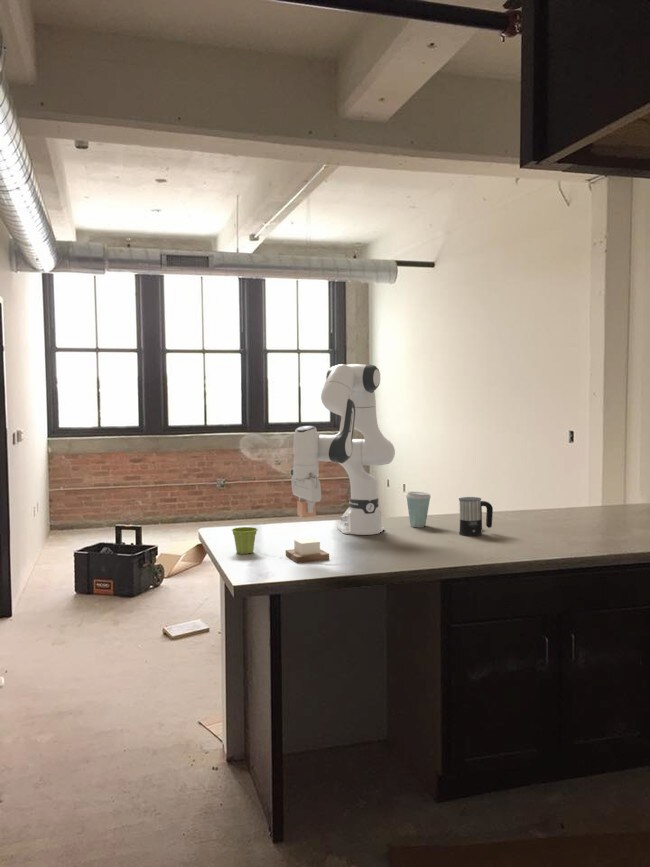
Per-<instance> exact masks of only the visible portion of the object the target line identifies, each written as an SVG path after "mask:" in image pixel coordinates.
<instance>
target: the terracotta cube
mask: <svg viewBox="0 0 650 867" xmlns="http://www.w3.org/2000/svg"><path fill="white" fill-rule="evenodd" d="M296 502H297V503H296V504H297V505H296V507H297V516H298V517H301V518H310V517H311V518H313V517H316V516H317V515H316V514H317V510H316V509H317V508H316V503H317V502H314V506H313V512H312V513H308V512H307V507H308V503H307V500H305V501H299V500H297V501H296Z"/></svg>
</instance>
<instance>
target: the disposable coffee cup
mask: <svg viewBox="0 0 650 867" xmlns="http://www.w3.org/2000/svg"><path fill="white" fill-rule="evenodd" d="M405 496H406V497H405V498H406V502H407V503H406V504H407V509H408V510H407V511H408V518H409V523H410V526H411V527H412V528H424V526H425V527H426V524H427V519H428V518H427V517H428V514H429V513H428V512H429V507H430V506H429V505H430V501H431V498H432V497H431V494H430V493H427V492H424V491H407V493H406V495H405Z"/></svg>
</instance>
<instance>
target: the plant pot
mask: <svg viewBox="0 0 650 867" xmlns="http://www.w3.org/2000/svg"><path fill="white" fill-rule="evenodd" d="M231 531H232V535H233V538H234V544H235V551H236V553H237V554H240V555H249V554H253V553H254V548H255V541H256V535H257V531H259V530H258V528H257V527H250V526H242V527H241V526H240V527H234V528H232V529H231Z"/></svg>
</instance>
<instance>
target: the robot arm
mask: <svg viewBox="0 0 650 867" xmlns="http://www.w3.org/2000/svg"><path fill="white" fill-rule="evenodd" d="M325 379H326V380H325V382H324V385H323V388H322V390H321V394H320V399H321V402H322V404H323V406H324V408H326V409H327V410H328V411H329V412H331V413H333V414H334V415H338V416H340V425H339V430H338V432H337V433H336V434H321V433H319V432H318V430H317V427H316V426H314V425H304V426H298V427H297V428H296V429H295V431H294V435H293V451H292V452H293V455H294V456H293V457H294V460H293V467H292V468H291V469H289V475H290V476H291V481H290V482H291V492H292V495H293V496H296V497H298V501H307V503H308V507H307V512H308V513H312V512H313V506H314V502H316V503H317V502H318V503H319V502H321V500H322V486H321V481H320V480H319V479H318V478H319V477H320V476H319V473H320V470H319V468H320V467H319V461H320V462H329V463H330V462H331V463H338V464H339V465H340V466H341V467H342V468H343V469H344V470H345V473H346V474H347V476H348V479H349V485H350V498H349V501H348V508H347V509H346V510H345V511H344V512H343V514H342V515H341V516H340V522H341V523H340V524H337V525H336V528H337V529H338V531H341V533H343V534H347V535H359V536H362V535H363V536H364V535H365V536H366V535H368V536H371V535H377V534H381V533H382V532H383V530H384V531H386V530H385V527H384V526H383V521H382V520H383V518H382V511H381V510H380V509H379V507H380V506H379V504H380V502H379V498H378V481H377V478H376V477H375V476H374V475H372V474H370V473H369V472H366V470H365V468H364V466H384V465H388V464H389V465H390V464H391V463H392V461H393V460H394V458H395V455H396V449H395V446H394V444H393V443H392V442H391V441H390V440H388V439H387V438H386V437H385V436H384V434H383V433H382V431H381V430H380V428H379V425H378V418H377V401H376V393H375V391H376V390H377V389H378V387H379V386H380V384H381V371H380V370H379V368H378V367H377V366H376V365H373V364H364V363H363V364H362V363H361V364H360V363H351V364H350V363H349V364H343V363H341V364H336V365H333V366H330V367H329V369H328V370H327V372H326V377H325ZM354 430H355V431H358V432H359V433H361V435H362V436H363V438H353V434H354ZM380 532H381V533H380Z"/></svg>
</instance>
